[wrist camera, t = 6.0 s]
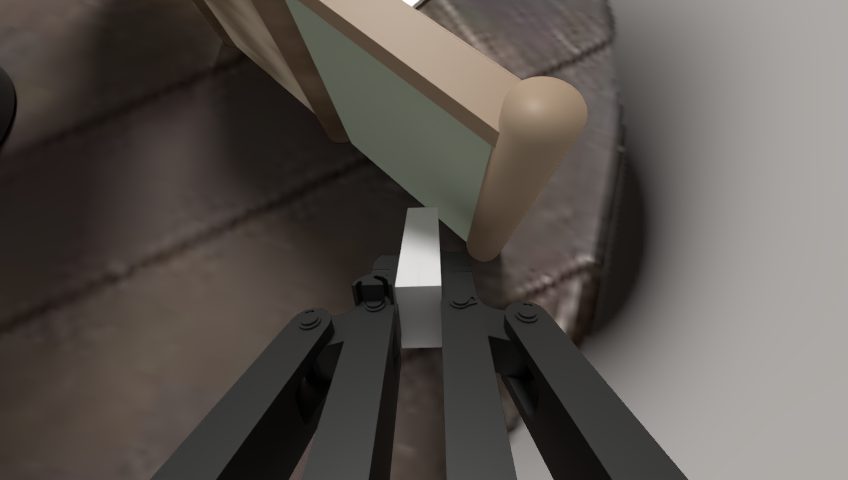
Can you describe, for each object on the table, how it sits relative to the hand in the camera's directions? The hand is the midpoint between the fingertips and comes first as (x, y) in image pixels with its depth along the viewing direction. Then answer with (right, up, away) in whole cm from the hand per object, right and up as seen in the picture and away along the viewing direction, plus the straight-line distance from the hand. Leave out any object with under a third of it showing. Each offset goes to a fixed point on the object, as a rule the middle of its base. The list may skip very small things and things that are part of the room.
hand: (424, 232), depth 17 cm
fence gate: (0, +3, +6) cm, 6 cm away
